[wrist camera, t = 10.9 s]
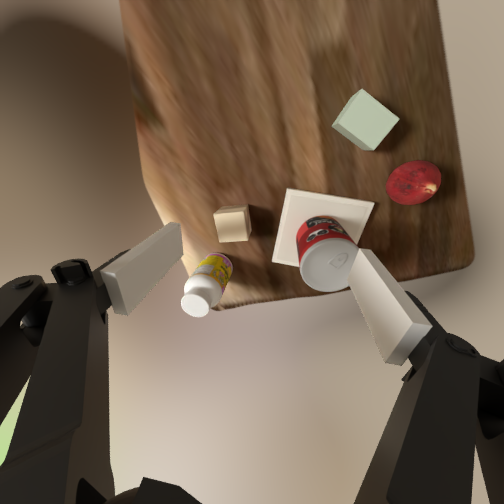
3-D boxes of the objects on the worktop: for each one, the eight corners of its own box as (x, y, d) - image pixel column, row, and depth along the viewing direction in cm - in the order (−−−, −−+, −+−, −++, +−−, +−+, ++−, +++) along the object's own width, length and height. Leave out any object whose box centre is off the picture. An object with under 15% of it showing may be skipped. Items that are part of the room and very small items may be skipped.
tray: (287, 187, 33) (287, 188, 32) (371, 201, 33) (375, 203, 31) (272, 258, 40) (271, 262, 39) (342, 271, 39) (344, 275, 38)
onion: (371, 197, 32) (396, 209, 25) (385, 157, 30) (417, 160, 23) (410, 200, 32) (446, 214, 25) (426, 160, 29) (473, 164, 22)
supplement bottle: (234, 278, 44) (217, 323, 32) (206, 277, 44) (179, 321, 33) (231, 251, 40) (211, 290, 29) (200, 251, 42) (170, 288, 30)
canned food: (350, 223, 33) (378, 253, 24) (326, 261, 37) (341, 300, 27) (308, 206, 33) (319, 230, 23) (288, 246, 37) (290, 280, 27)
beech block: (221, 206, 37) (213, 214, 32) (248, 204, 36) (243, 211, 31) (226, 232, 39) (219, 242, 34) (251, 230, 38) (247, 240, 33)
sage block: (351, 96, 27) (361, 88, 24) (384, 123, 28) (399, 119, 24) (331, 126, 29) (338, 123, 25) (362, 150, 30) (373, 150, 26)
